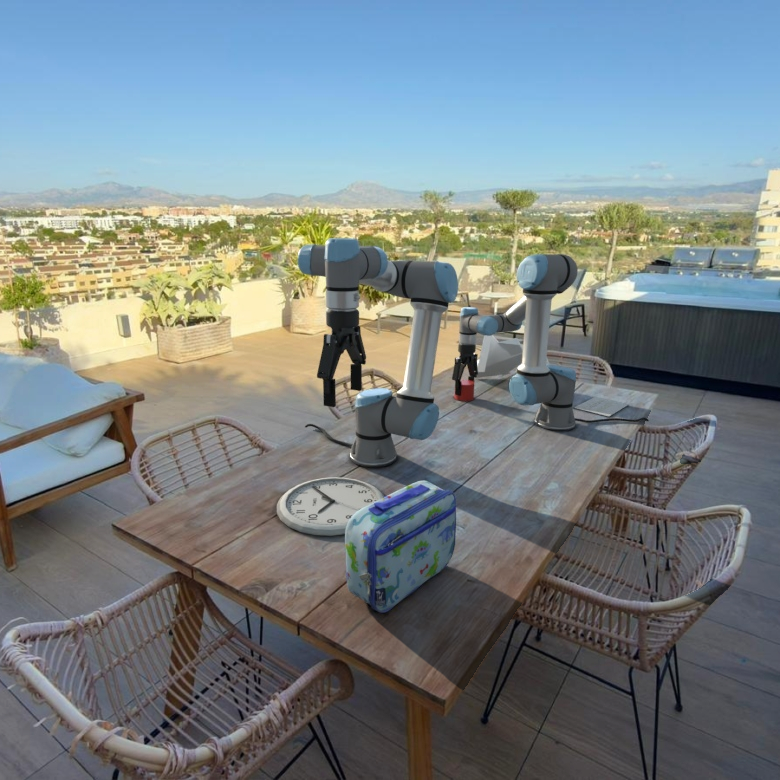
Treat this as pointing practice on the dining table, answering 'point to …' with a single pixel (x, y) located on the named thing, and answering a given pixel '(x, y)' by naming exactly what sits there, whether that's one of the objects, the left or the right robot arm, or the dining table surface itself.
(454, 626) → the dining table surface
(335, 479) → the wall clock
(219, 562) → the dining table surface
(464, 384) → the canister
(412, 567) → the lunch box
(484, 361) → the white plastic object
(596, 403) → the invitation card
